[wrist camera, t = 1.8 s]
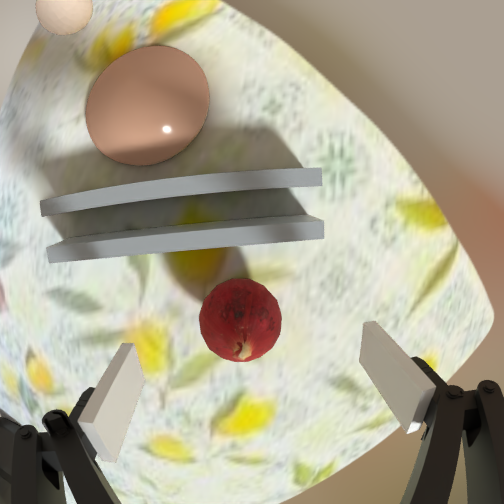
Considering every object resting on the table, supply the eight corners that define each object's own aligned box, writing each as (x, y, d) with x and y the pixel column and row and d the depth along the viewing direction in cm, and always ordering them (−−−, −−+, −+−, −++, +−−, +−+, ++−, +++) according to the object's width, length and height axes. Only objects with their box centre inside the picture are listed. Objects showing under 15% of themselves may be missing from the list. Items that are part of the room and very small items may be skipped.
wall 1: (72, 251, 22) (49, 263, 18) (70, 237, 22) (46, 247, 18) (308, 229, 23) (324, 238, 19) (307, 214, 23) (323, 220, 19)
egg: (59, 52, 17) (18, 23, 10) (60, 19, 16) (25, -13, 9) (103, 31, 18) (69, -7, 10) (102, -1, 16) (73, -40, 9)
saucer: (92, 174, 21) (87, 174, 20) (93, 65, 18) (88, 61, 17) (213, 157, 21) (212, 156, 20) (207, 43, 19) (206, 37, 18)
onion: (201, 266, 23) (190, 307, 15) (274, 265, 24) (296, 305, 16) (204, 331, 24) (197, 390, 17) (271, 330, 25) (289, 387, 17)
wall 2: (66, 211, 21) (41, 216, 17) (65, 197, 21) (39, 200, 17) (306, 185, 22) (322, 185, 18) (305, 170, 22) (321, 167, 18)
